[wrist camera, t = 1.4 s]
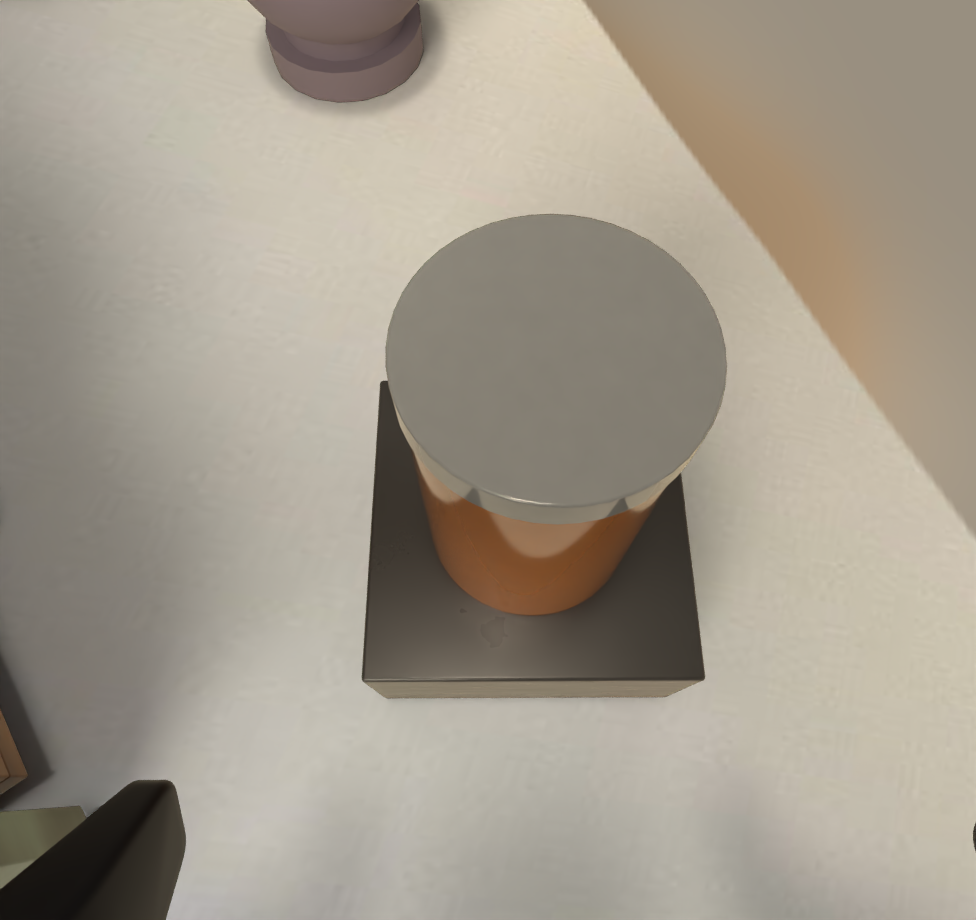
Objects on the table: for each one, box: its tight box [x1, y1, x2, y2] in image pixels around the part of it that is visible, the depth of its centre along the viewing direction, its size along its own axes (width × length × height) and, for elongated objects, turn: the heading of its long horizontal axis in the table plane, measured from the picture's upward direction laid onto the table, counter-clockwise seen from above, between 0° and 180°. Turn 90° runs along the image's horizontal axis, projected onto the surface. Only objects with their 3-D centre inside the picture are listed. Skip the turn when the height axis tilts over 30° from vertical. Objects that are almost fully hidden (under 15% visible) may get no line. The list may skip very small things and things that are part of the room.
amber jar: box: [386, 214, 727, 615], centre depth 15 cm, size 5×5×8 cm
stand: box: [362, 381, 705, 698], centre depth 20 cm, size 8×8×4 cm
